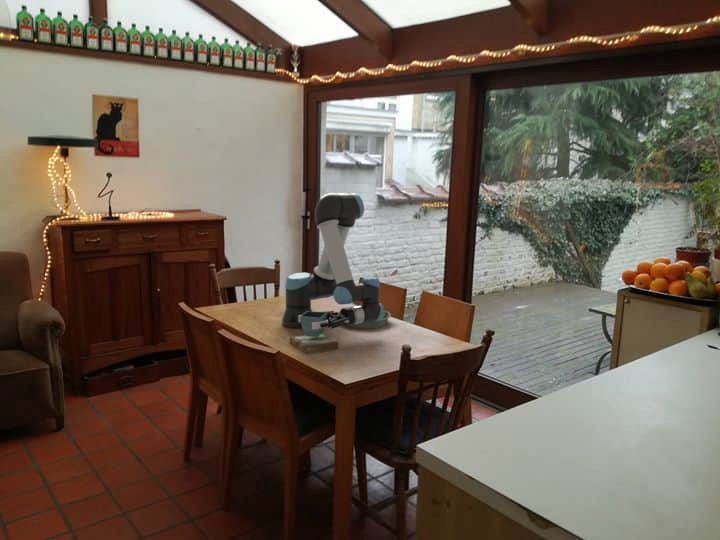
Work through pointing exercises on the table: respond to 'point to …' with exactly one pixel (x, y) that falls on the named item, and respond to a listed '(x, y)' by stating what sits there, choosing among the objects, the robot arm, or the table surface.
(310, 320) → the flower pot
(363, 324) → the cake pan
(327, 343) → the stand
